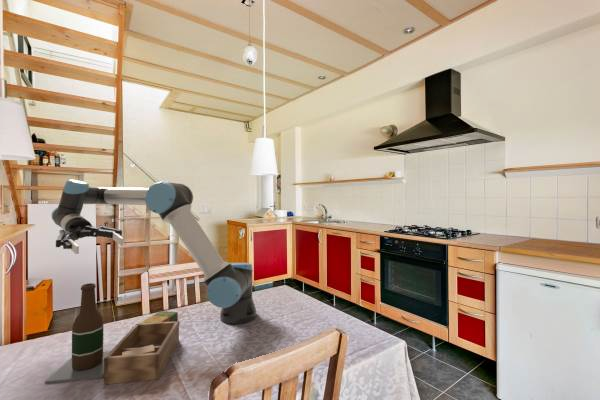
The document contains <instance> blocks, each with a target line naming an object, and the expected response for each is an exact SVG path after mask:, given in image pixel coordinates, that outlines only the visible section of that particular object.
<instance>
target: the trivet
mask: <svg viewBox="0 0 600 400" xmlns="http://www.w3.org/2000/svg"><path fill="white" fill-rule="evenodd" d="M111 351H112V350H110V351H107V350H106V351H103V359H102V362H101V364H99V365H97V366H96V367H94V368H92V369H88V370H84V371H77V370H73V369H72V357H71V358H69V359H68V360H67V361H66V362H65V363H64V364H63V365H61V366H60V367H59V368H58V369H57V370H56V371H55V372H54V373H52V374H51V375H50V376H49V377H48V378H47V379H46V380H45V381H44V384H53V383H55V384H56V383H66V382H77V381H86V380H97V379H98V380H99V379H102V378H104V358H105V357H106V356H107V355H108V354H109V353H110V352H111Z"/></svg>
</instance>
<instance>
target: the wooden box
mask: <svg viewBox="0 0 600 400" xmlns="http://www.w3.org/2000/svg"><path fill="white" fill-rule="evenodd" d="M132 327H133V326H132ZM179 334H180V321H179V320H178V321H173V322H158V323H142V324H139V323H136V324H135V325H134V327H133V328H131V329H129V331H128V332H127V333H126V334H125V335H124V337H122V339H121V340H120V341H119V342H118V343H117V344H115V346H114V347H113V348H112V350H110V351H111V352H110V353H109V354H108V355H107V356H106V357H105V358H104V376H103V385H112V384H121V383H133V382H143V381H146V382H147V381H154V380H159V379H160V378H161V376H162V374H163V372H164V370H165V369H166V367H167V365H168V363H169V361H170V359H171V356H172V355H173V353H174V351H175V349H176V347H177V345H178V343H179V342H180V340H179V338H180V337H179V336H180V335H179ZM157 344H159V345H157ZM160 344H161V345H160ZM143 345H144V346H148V345H153V346H154V349H155V353H146V354H133V355H122V352H125V351H129V350H133V349H137V348H141V347H142V346H143Z"/></svg>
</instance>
